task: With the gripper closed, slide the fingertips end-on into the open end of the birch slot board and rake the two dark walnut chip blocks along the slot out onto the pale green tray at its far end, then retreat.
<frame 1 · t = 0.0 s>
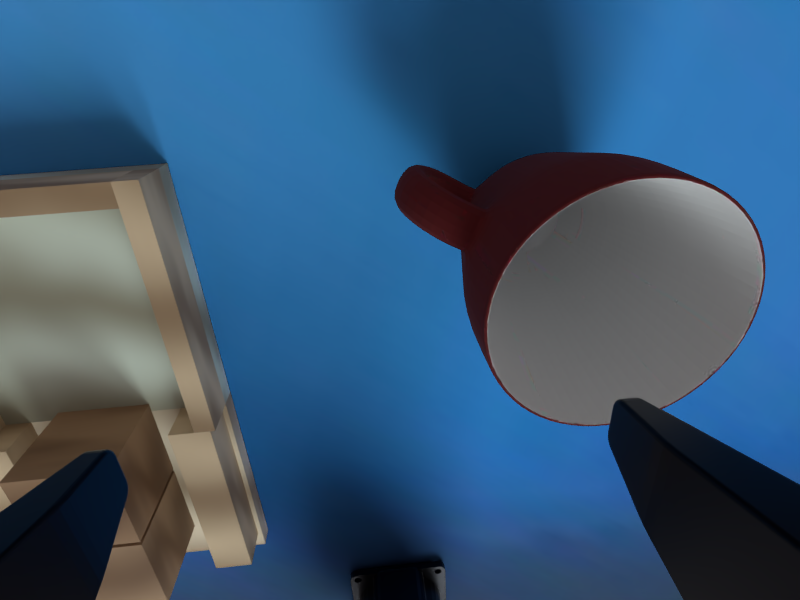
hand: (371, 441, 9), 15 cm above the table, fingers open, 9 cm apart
chip a: (145, 503, 27), point 1 cm above the table, touching slot board
chip b: (118, 441, 25), point 1 cm above the table, touching slot board
slot board: (112, 395, 25), on the table
mug: (492, 205, 22), on the table
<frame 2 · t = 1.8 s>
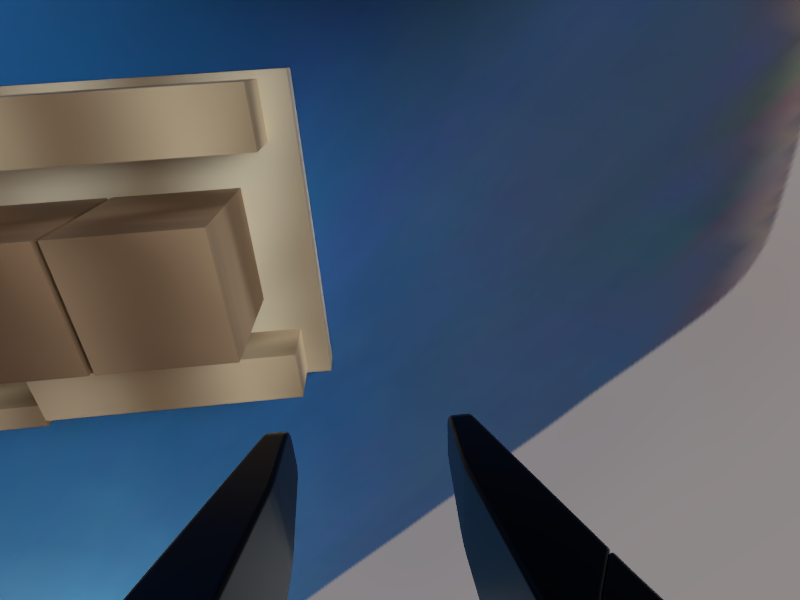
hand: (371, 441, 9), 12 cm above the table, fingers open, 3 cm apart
chip a: (192, 251, 18), point 1 cm above the table, touching slot board
chip b: (65, 261, 18), point 1 cm above the table, touching slot board
slot board: (19, 256, 19), on the table
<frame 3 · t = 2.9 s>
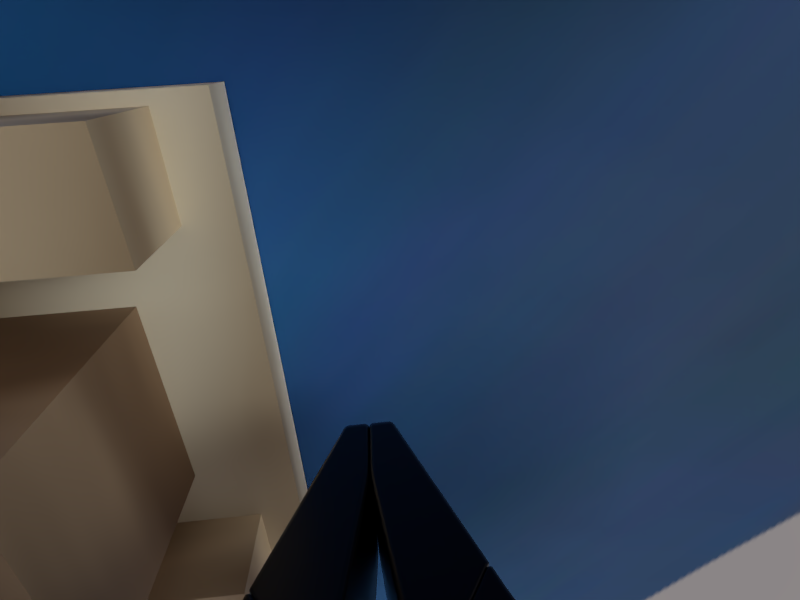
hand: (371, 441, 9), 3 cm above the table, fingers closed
chip a: (60, 409, 10), point 1 cm above the table, touching slot board
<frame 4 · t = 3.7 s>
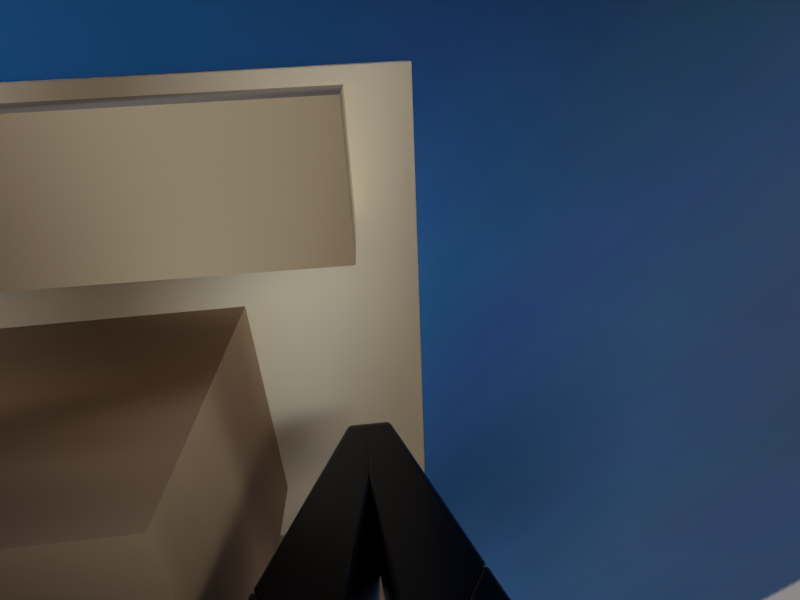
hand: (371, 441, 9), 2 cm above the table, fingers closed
chip a: (152, 418, 9), point 1 cm above the table, touching chip b, gripper, slot board
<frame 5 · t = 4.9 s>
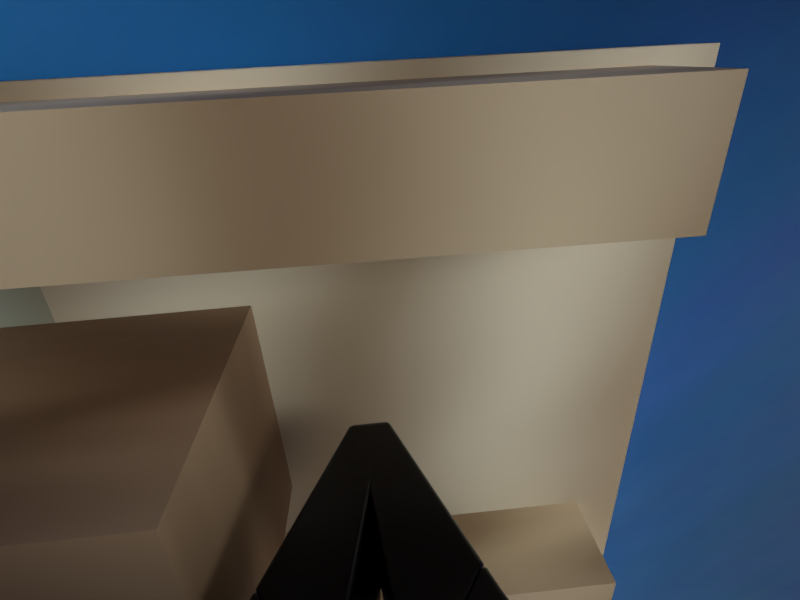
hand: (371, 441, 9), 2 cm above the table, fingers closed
chip a: (158, 416, 9), point 1 cm above the table, touching chip b, gripper
slot board: (96, 391, 10), on the table
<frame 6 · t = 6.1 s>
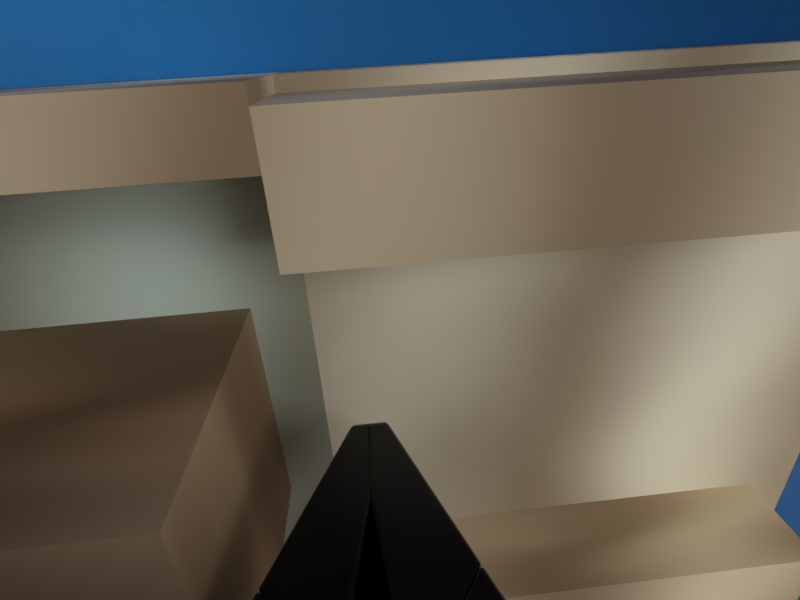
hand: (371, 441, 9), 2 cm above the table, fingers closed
chip a: (157, 419, 9), point 1 cm above the table, touching chip b, gripper, slot board
slot board: (304, 377, 10), on the table
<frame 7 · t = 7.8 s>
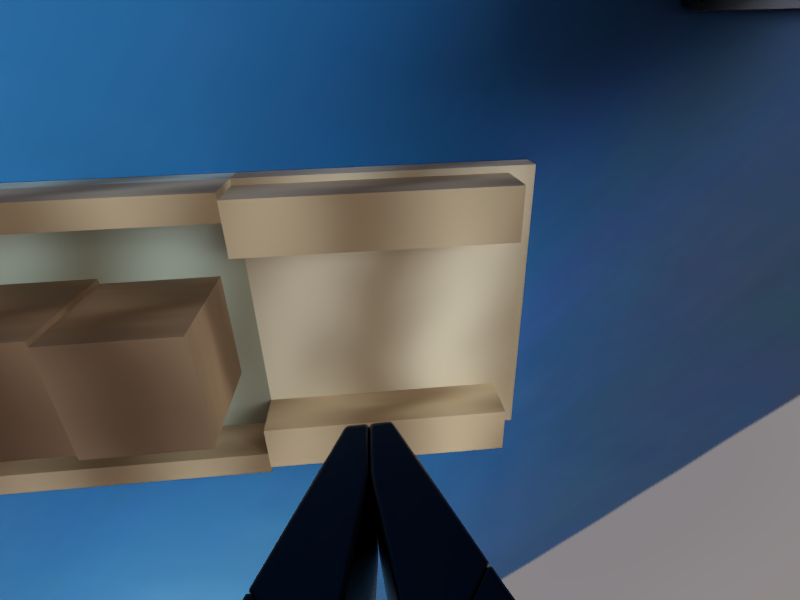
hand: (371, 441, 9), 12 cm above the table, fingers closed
chip a: (174, 330, 19), point 1 cm above the table, touching slot board
chip b: (56, 334, 19), point 1 cm above the table, touching slot board
slot board: (249, 315, 20), on the table
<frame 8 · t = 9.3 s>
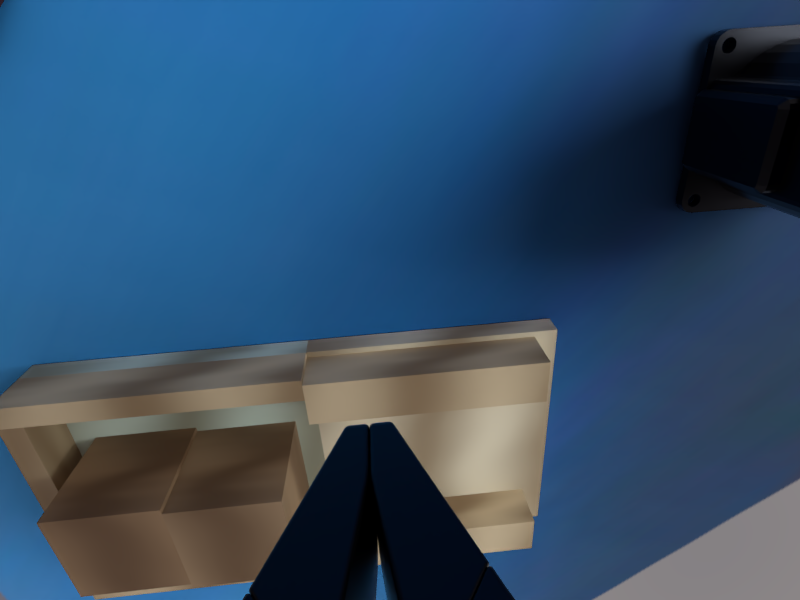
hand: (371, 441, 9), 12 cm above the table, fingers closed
chip a: (256, 461, 23), point 1 cm above the table, touching slot board
chip b: (160, 468, 23), point 1 cm above the table, touching slot board
slot board: (315, 442, 24), on the table
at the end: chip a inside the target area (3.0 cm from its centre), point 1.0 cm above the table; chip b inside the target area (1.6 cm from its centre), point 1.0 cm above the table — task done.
